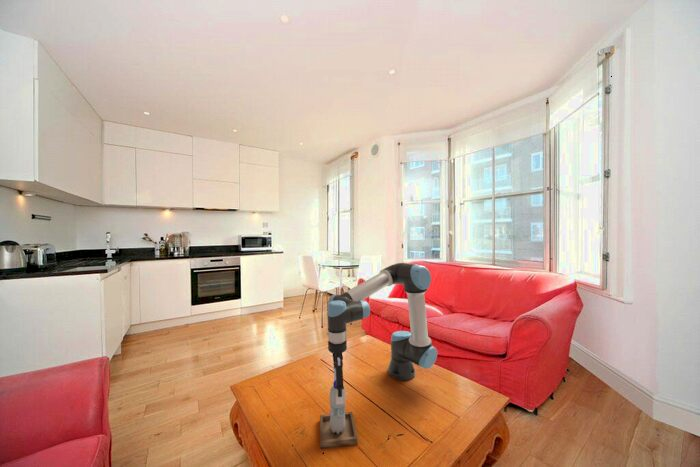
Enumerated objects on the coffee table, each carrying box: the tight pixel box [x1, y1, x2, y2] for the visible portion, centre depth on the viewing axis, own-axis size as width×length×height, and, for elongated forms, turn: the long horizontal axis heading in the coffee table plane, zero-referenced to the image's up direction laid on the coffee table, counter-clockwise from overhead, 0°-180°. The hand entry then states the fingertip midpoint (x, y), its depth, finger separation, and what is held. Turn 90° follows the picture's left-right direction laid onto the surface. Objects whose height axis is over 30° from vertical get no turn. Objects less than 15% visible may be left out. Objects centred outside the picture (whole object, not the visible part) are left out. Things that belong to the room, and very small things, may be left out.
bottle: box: [328, 380, 347, 434], centre depth 100 cm, size 7×7×20 cm
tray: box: [319, 411, 358, 450], centre depth 100 cm, size 14×14×2 cm
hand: (338, 391), depth 100 cm, fingers open, 13 cm apart
